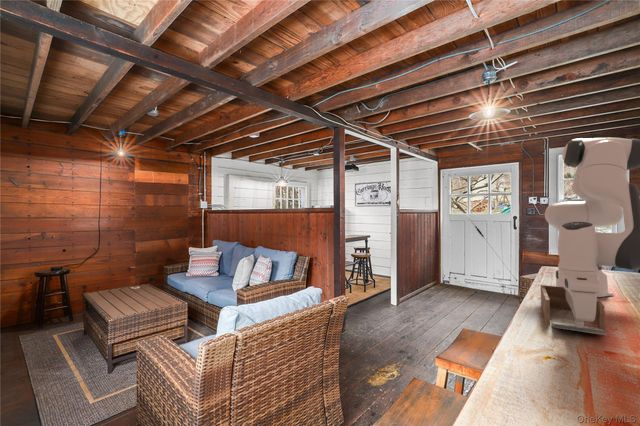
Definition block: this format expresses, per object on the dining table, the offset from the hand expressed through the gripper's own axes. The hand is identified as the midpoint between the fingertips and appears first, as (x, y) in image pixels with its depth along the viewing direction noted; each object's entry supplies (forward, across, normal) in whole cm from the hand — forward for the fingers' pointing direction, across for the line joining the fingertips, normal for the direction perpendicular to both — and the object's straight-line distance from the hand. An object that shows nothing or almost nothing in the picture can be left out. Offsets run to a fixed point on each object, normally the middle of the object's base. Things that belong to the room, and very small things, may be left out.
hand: (579, 326), depth 87 cm
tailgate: (+3, -7, 0) cm, 8 cm away
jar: (+3, -36, +2) cm, 37 cm away
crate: (+3, -17, 0) cm, 18 cm away
